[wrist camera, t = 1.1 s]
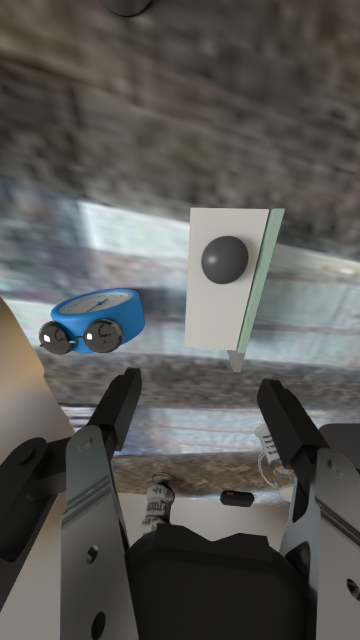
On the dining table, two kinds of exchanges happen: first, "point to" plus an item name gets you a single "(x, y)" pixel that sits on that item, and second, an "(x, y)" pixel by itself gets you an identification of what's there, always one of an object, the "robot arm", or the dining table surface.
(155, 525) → the apothecary jar
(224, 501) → the carrying case or bag
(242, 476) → the dining table surface
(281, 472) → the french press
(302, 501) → the robot arm
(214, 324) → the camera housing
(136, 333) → the alarm clock
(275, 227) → the side door
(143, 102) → the dining table surface
